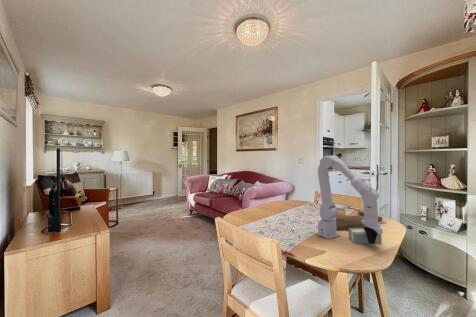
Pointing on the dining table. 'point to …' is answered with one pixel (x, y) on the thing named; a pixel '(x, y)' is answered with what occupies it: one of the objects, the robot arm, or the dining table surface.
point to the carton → (362, 236)
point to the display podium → (349, 222)
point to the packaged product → (361, 213)
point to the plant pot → (341, 212)
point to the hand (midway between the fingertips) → (371, 243)
